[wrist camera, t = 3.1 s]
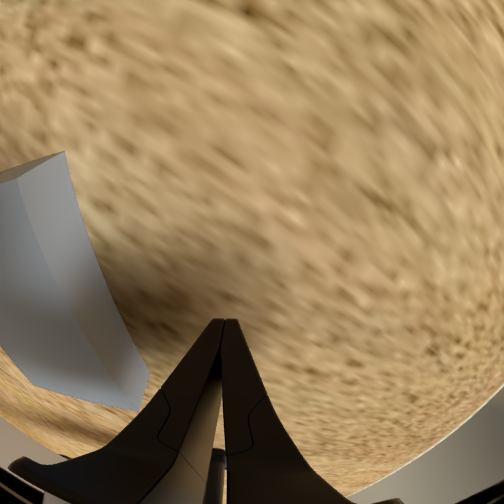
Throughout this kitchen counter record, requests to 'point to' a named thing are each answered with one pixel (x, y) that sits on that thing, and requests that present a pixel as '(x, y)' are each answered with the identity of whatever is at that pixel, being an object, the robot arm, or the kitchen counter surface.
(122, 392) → the slate plate
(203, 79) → the kitchen counter surface
